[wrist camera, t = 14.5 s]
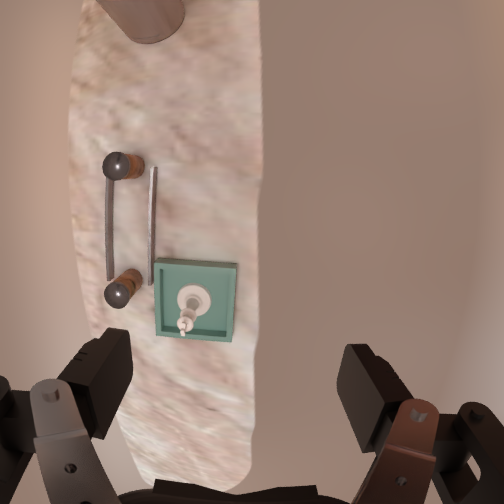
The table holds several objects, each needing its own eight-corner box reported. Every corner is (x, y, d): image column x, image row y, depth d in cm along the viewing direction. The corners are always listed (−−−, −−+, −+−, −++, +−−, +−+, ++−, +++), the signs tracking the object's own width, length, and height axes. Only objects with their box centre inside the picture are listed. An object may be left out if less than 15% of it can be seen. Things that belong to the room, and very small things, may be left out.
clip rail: (112, 154, 39) (91, 152, 32) (158, 154, 39) (142, 151, 33) (112, 287, 44) (94, 305, 37) (154, 292, 44) (141, 311, 37)
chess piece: (176, 312, 44) (160, 347, 34) (178, 280, 43) (161, 309, 33) (210, 317, 44) (202, 353, 35) (213, 285, 43) (205, 316, 34)
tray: (158, 257, 43) (153, 262, 40) (236, 263, 43) (236, 268, 41) (159, 328, 45) (156, 335, 43) (232, 334, 46) (231, 342, 44)
